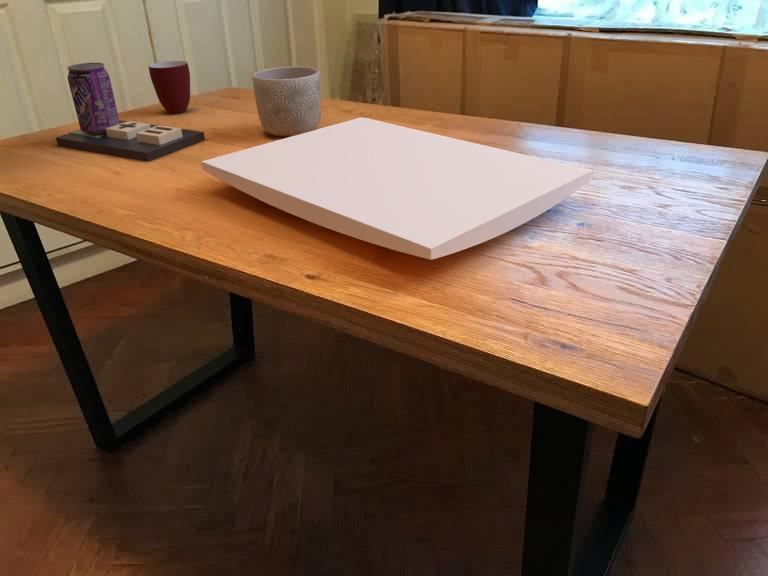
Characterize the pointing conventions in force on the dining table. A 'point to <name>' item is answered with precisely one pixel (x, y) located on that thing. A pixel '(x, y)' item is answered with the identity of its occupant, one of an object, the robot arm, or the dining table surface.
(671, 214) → the dining table surface
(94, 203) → the dining table surface
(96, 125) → the beverage can
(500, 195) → the board
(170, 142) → the letter board
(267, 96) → the planter
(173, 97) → the mug
